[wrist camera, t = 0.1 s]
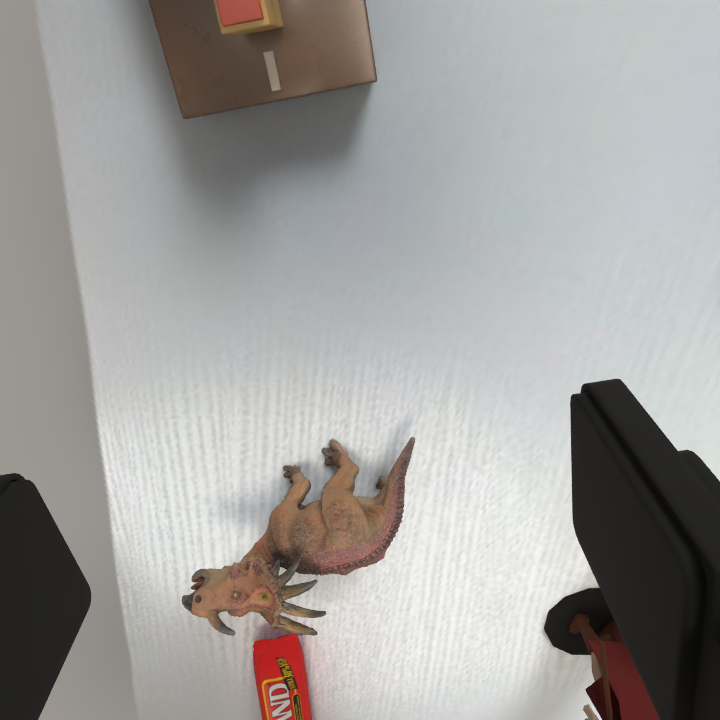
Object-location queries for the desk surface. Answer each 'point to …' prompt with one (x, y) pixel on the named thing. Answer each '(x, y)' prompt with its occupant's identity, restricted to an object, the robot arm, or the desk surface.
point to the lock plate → (263, 54)
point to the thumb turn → (247, 16)
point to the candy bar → (281, 679)
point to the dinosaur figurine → (305, 545)
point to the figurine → (600, 656)
